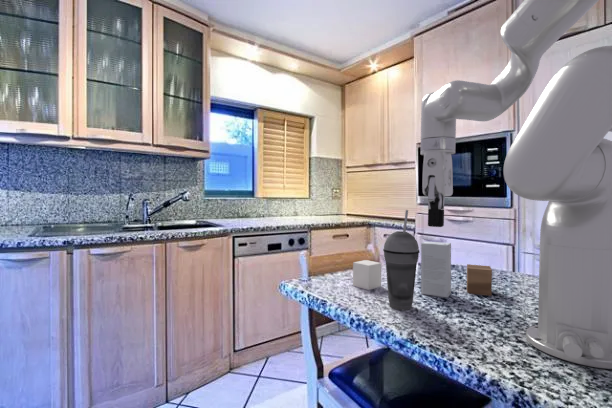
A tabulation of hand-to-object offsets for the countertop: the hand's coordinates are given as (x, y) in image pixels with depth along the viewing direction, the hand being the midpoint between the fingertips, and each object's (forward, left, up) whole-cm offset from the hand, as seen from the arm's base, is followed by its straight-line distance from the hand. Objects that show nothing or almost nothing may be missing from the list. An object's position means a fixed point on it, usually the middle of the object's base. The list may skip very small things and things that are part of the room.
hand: (435, 226), depth 77 cm
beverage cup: (-14, +4, -16) cm, 21 cm away
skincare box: (0, 0, -16) cm, 16 cm away
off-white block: (-3, +16, -16) cm, 23 cm away
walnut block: (+8, -8, -16) cm, 20 cm away
